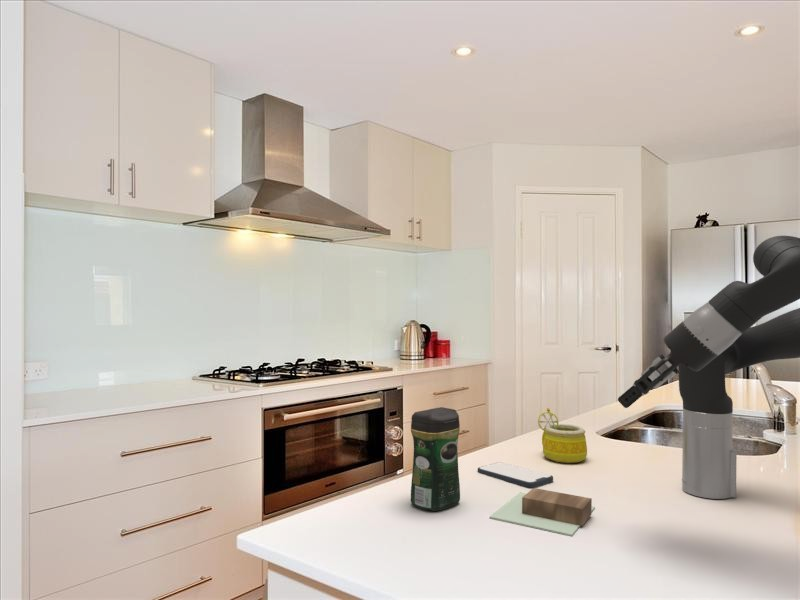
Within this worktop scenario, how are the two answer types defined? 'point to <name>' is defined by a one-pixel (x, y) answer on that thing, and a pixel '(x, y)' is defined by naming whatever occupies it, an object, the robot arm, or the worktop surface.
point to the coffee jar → (435, 459)
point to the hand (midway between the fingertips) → (622, 403)
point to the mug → (563, 441)
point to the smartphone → (516, 475)
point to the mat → (531, 518)
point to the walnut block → (557, 506)
